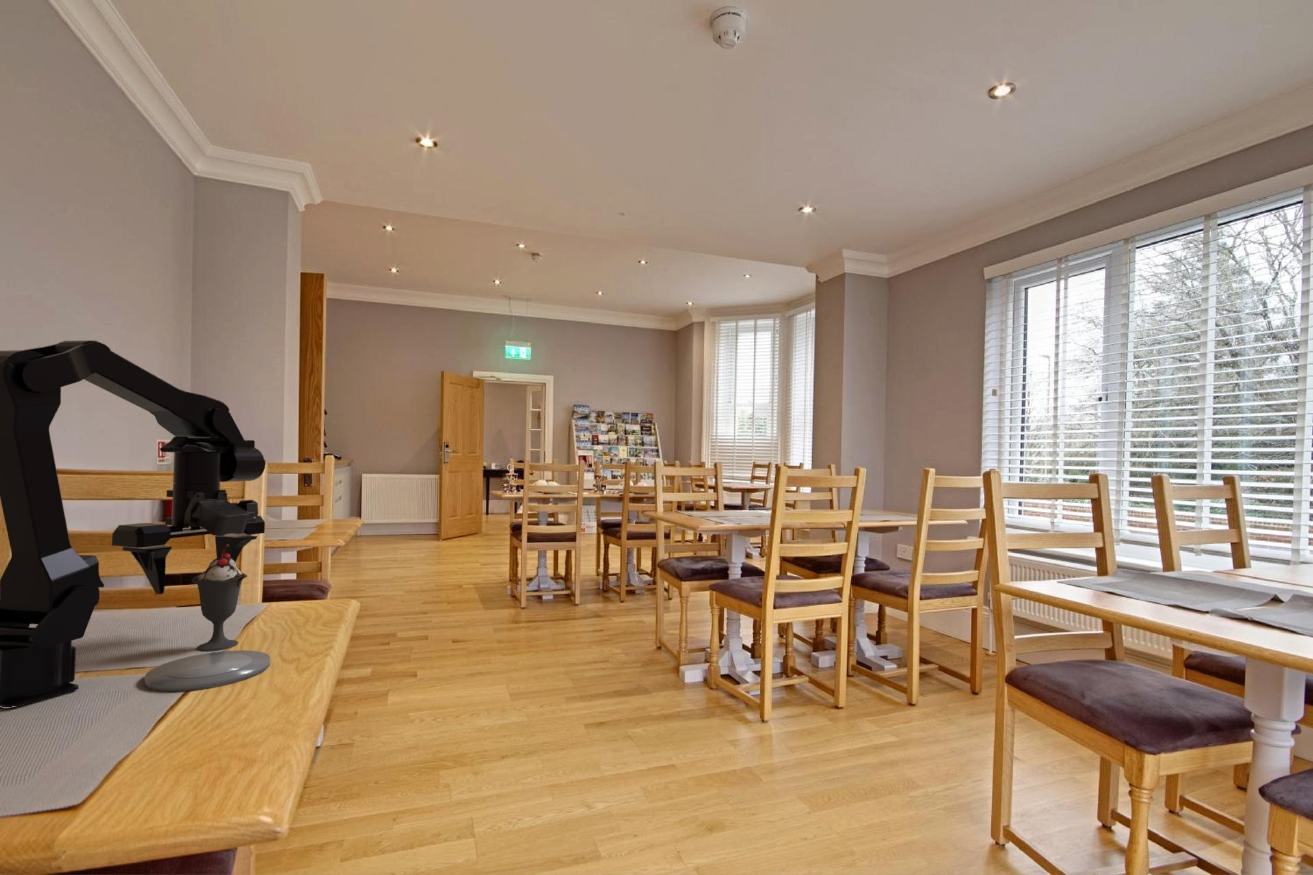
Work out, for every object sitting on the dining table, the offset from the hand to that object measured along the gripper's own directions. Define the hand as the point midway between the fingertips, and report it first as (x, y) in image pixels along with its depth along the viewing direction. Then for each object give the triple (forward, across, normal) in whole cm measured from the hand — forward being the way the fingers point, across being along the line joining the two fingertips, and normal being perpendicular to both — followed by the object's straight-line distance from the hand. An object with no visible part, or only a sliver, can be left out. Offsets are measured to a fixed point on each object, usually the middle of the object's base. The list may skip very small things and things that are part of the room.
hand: (193, 587), depth 93 cm
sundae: (+8, 0, -6) cm, 10 cm away
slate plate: (+8, -8, -16) cm, 19 cm away
